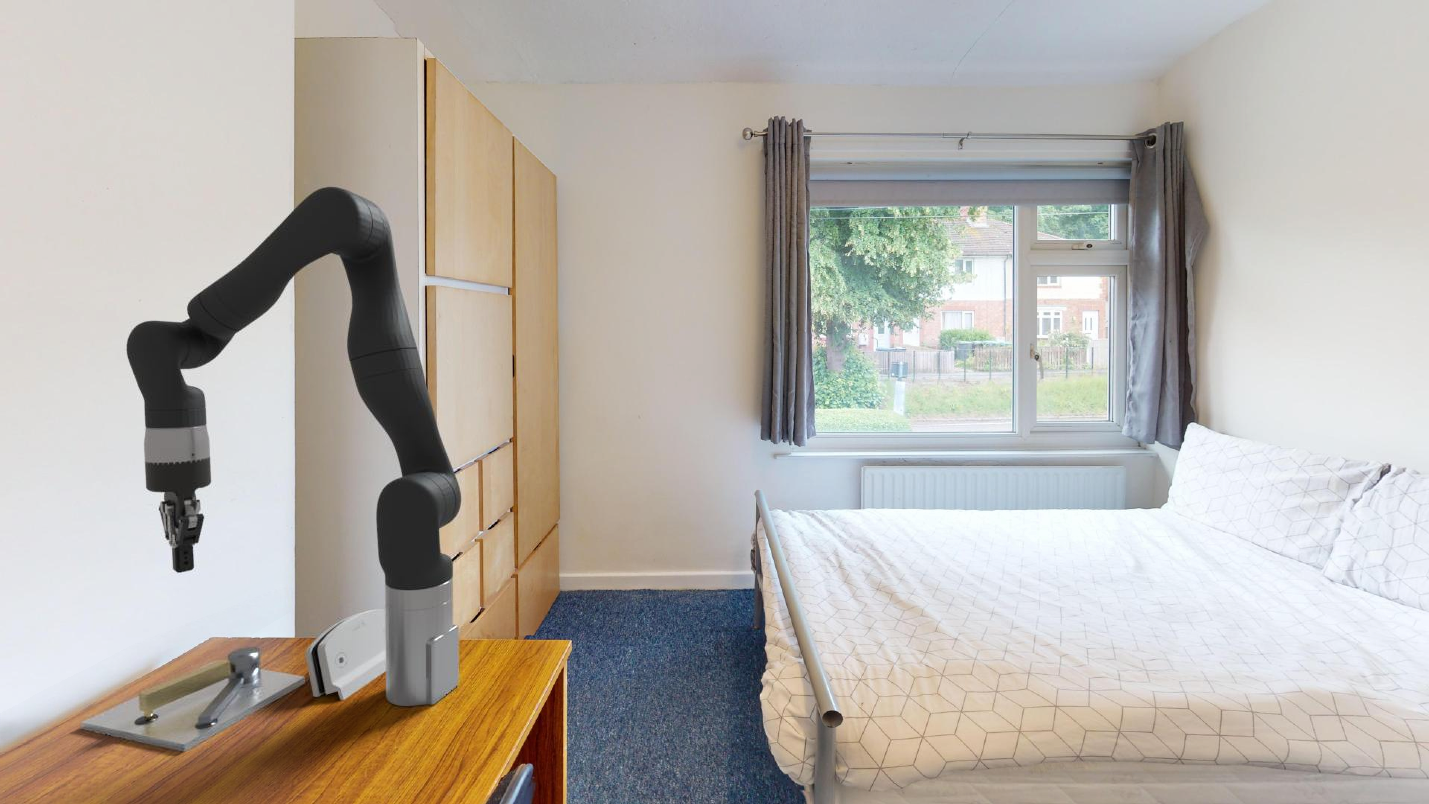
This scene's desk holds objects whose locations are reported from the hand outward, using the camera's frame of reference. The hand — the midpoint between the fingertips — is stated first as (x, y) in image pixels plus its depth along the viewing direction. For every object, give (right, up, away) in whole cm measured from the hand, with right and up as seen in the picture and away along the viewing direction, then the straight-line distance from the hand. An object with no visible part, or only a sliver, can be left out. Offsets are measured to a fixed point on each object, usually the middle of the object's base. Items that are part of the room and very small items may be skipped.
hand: (183, 570), depth 98 cm
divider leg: (+6, -17, -7) cm, 19 cm away
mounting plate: (+7, -18, -5) cm, 20 cm away
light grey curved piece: (+23, -18, +6) cm, 30 cm away
